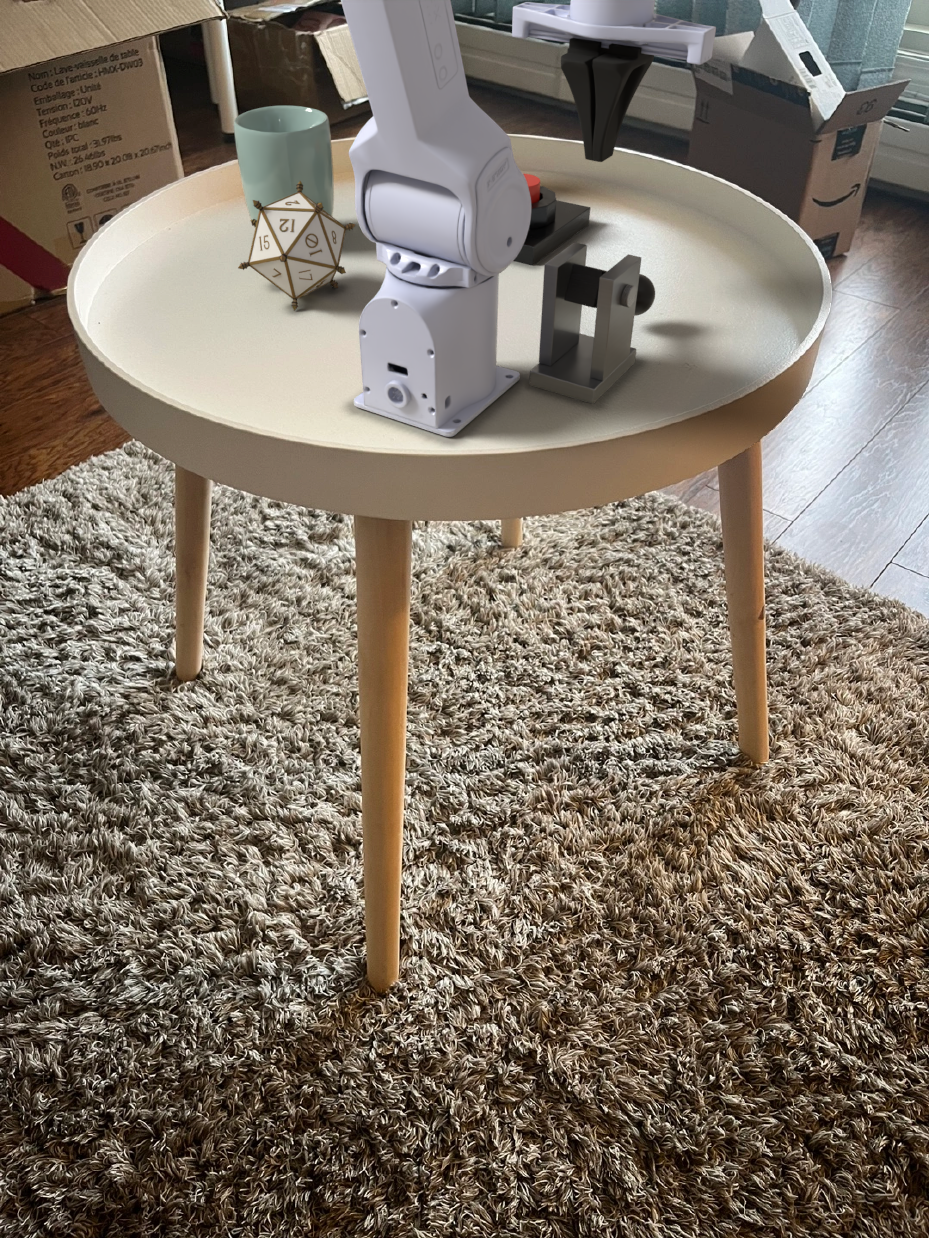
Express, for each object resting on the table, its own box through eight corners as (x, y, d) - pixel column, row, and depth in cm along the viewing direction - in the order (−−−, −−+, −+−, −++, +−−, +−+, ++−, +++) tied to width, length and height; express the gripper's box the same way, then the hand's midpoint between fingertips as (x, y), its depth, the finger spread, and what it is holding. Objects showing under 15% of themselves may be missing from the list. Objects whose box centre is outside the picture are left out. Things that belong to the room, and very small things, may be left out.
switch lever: (617, 311, 77) (628, 271, 76) (654, 320, 76) (665, 280, 75) (557, 303, 67) (568, 257, 66) (597, 314, 66) (609, 266, 65)
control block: (504, 207, 96) (505, 169, 94) (589, 225, 93) (592, 186, 90) (443, 245, 89) (443, 205, 87) (532, 267, 86) (534, 225, 83)
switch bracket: (567, 345, 75) (576, 234, 69) (641, 365, 73) (656, 252, 67) (522, 384, 70) (527, 269, 65) (599, 407, 68) (612, 289, 62)
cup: (355, 233, 91) (346, 114, 84) (300, 262, 86) (286, 139, 79) (288, 216, 94) (275, 100, 87) (232, 243, 89) (213, 122, 82)
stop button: (511, 190, 91) (512, 170, 89) (546, 198, 89) (547, 178, 88) (491, 202, 88) (491, 182, 87) (527, 210, 87) (528, 190, 86)
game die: (302, 327, 85) (307, 206, 84) (372, 317, 80) (379, 188, 79) (214, 304, 78) (219, 172, 77) (285, 292, 73) (291, 150, 72)
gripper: (745, -59, 65) (710, 159, 74) (549, -78, 71) (539, 127, 80) (704, -43, 61) (672, 187, 70) (499, -64, 67) (494, 151, 76)
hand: (598, 157), depth 75 cm, fingers closed
